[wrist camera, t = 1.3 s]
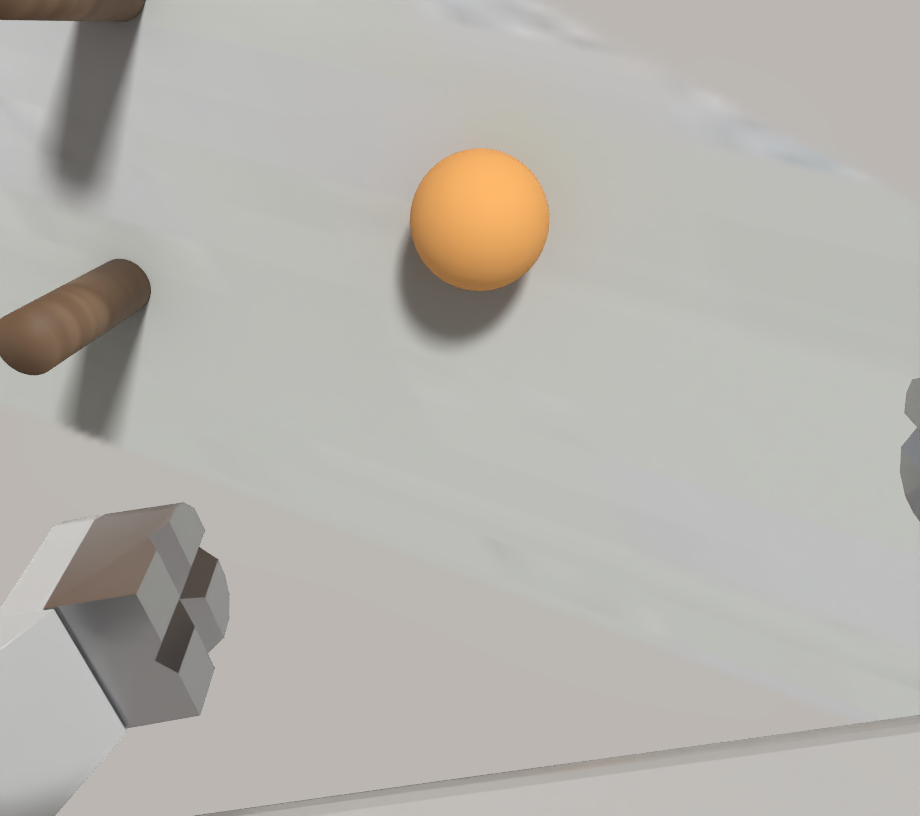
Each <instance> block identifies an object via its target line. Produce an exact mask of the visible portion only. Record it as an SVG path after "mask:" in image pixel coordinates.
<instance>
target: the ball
mask: <svg viewBox="0 0 920 816" xmlns="http://www.w3.org/2000/svg"><path fill="white" fill-rule="evenodd" d="M410 226H411V233H412V238H413V242H414V245H415V248H416V250H417V252H418V254H419V256H420V257H421V259H422V261H423V262H424V264H425V265H426V266H427V267H428V268H429V269H430V270H431V271H432V272H433V273H434V274H435V275H436V276H437V277H439V278H440V279H442V280H443V281H445V282H447V283H449V284H450V285H453V286H455V287H458V288H461V289H465V290H472V291H488V290H494V289H497V288H501V287H504V286H506V285H508V284H510V283H512V282H514V281H516V280H517V279H519V278H520V277H521V276H522V275H524V274H525V273H526V272H527V271H528V270H529V269H530V268H531V267H532V266H533V265H534V263H535V262H536V261H537V259H538V257H539V256H540V254H541V252H542V250H543V247H544V245H545V242H546V239H547V235H548V229H549V210H548V204H547V200H546V197H545V194H544V191H543V189H542V187H541V185H540V183H539V182H538V180H537V178H536V177H535V176H534V174H533V173H532V172H531V171H530V170H529V169H528V168H527V167H526V166H525V165H524V164H523V163H521V162H520V161H519V160H517V159H516V158H514V157H512V156H510V155H508V154H505V153H503V152H500V151H496V150H492V149H482V148H480V149H469V150H464V151H460V152H457V153H455V154H452V155H450V156H448V157H446V158H445V159H443V160H442V161H440V162H439V163H437V164H436V165H435V166H434V167H433V168H432V169H431V170H430V171H429V172H428V173H427V174H426V175H425V177H424V178H423V180H422V181H421V183H420V184H419V187H418V189H417V191H416V193H415V196H414V199H413V202H412V206H411V213H410Z"/></svg>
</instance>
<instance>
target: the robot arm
mask: <svg viewBox="0 0 920 816" xmlns="http://www.w3.org/2000/svg"><path fill="white" fill-rule="evenodd" d="M904 413H905V414H906V415H907V416H908V418H909V419H910V420H911V421H912V422H913V423H914V424H915V425H916V426H917V428H916V430H915V431H914V432H913V433H912V435H911V436H910V437H909V438H908V439H907V441H906V442H905V443H904V444H903V446H902V447H901V464H900V474H901V479H902V483H903V488H904V492H905V496H906V499H907V501H908V503H909V505H910V507H911V509H912V511H913V513H914V514H915V516H916V517H917V518H918V520H919V521H920V378H917V379H912V381H911V384H910V386H909V388H908V391H907V393H906V403H905V412H904ZM204 532H205V529H204V527H203V525H202V523H201V521H200V519H199V517H198V515H197V513H196V511H195V509H194V508H193V507H191V506H190V505H188V504H186V503H184V502H183V503H177V504H170V505H164V506H157V507H150V508H144V509H137V510H130V511H123V512H117V513H110V514H105V515H103V516H102V515H96V516H90V517H84V518H80V519H73V520H68V521H64V522H62V523H59V524H57V525H55V526H54V527H53V528H52V530H51V531H50V533H49V534H48V536H47V537H46V539H45V540H44V542H43V543H42V545H41V547H40V548H39V550H38V551H37V553H36V554H35V556H34V557H33V559H32V560H31V562H30V563H29V565H28V567H27V568H26V570H25V571H24V573H23V574H22V576H21V577H20V579H19V581H18V582H17V584H16V585H15V587H14V588H13V590H12V591H11V593H10V594H9V596H8V597H7V599H6V601H5V602H4V604H3V605H2V607H1V608H0V816H55V815H56V814H57V813H58V812H59V810H60V809H61V808H62V807H63V806H64V805H65V804H66V802H67V801H68V800H69V799H70V798H71V797H72V795H73V794H74V793H75V792H76V791H77V790H78V788H79V787H80V786H81V785H82V784H83V783H84V782H85V780H86V779H87V778H88V777H89V776H90V775H91V773H92V772H93V771H94V770H95V769H96V768H97V767H98V765H99V764H100V763H101V762H102V761H103V760H104V758H105V757H106V756H107V755H108V754H109V753H110V751H111V750H112V749H113V748H114V747H115V746H116V745H117V743H118V742H119V741H120V740H121V739H122V738H123V736H124V735H125V734H126V733H127V730H126V728H131V727H136V726H142V725H148V724H154V723H160V722H165V721H171V720H176V719H182V718H188V717H193V716H199V715H200V714H201V710H202V707H203V704H204V701H205V697H206V694H207V691H208V688H209V685H210V681H211V678H212V675H213V672H214V669H215V667H214V666H213V663H212V661H211V659H210V657H209V655H208V653H209V652H210V651H211V650H212V649H213V648H214V647H215V646H216V645H217V644H218V643H219V642H220V641H221V640H222V639H223V638H224V635H225V632H226V628H227V624H228V621H229V591H228V586H227V582H226V578H225V574H224V572H223V570H222V567H221V565H220V563H219V560H218V559H217V558H215V557H214V556H212V555H211V554H209V553H207V552H206V551H205V550H203V549H202V548H200V547H199V545H200V543H201V540H202V537H203V534H204ZM196 816H920V715H916V716H909V717H901V718H894V719H887V720H880V721H873V722H865V723H858V724H851V725H844V726H836V727H830V728H822V729H815V730H808V731H800V732H793V733H786V734H778V735H771V736H764V737H757V738H749V739H742V740H735V741H728V742H720V743H713V744H706V745H698V746H691V747H684V748H677V749H669V750H662V751H655V752H648V753H641V754H633V755H626V756H619V757H611V758H605V759H597V760H589V761H582V762H575V763H568V764H560V765H553V766H546V767H538V768H531V769H524V770H517V771H510V772H502V773H495V774H488V775H481V776H473V777H466V778H459V779H452V780H444V781H438V782H431V783H423V784H416V785H409V786H403V787H395V788H388V789H380V790H373V791H366V792H359V793H352V794H345V795H338V796H331V797H324V798H316V799H310V800H303V801H295V802H289V803H281V804H274V805H267V806H260V807H253V808H245V809H238V810H231V811H224V812H217V813H211V814H203V815H196Z"/></svg>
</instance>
